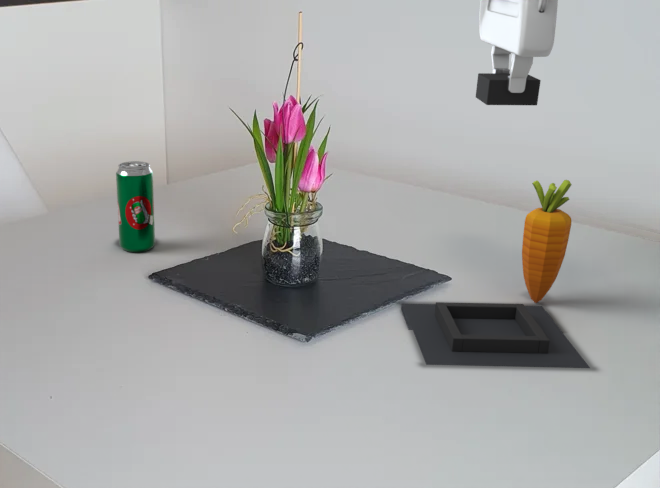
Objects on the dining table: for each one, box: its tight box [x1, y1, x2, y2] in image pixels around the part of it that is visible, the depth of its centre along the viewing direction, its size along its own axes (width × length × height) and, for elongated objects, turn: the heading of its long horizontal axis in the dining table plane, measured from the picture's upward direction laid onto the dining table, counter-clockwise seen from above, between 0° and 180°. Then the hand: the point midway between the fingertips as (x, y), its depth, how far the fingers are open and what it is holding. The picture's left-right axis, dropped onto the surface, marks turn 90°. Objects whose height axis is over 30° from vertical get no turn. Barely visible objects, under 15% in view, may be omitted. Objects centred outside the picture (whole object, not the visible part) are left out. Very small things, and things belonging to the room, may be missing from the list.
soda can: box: [115, 160, 156, 253], centre depth 117 cm, size 5×5×12 cm
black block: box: [475, 72, 542, 106], centre depth 103 cm, size 6×6×3 cm
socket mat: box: [400, 302, 591, 369], centre depth 89 cm, size 16×16×2 cm
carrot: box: [521, 179, 573, 304], centre depth 96 cm, size 5×5×15 cm
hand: (506, 87), depth 103 cm, fingers closed on black block, 6 cm apart
